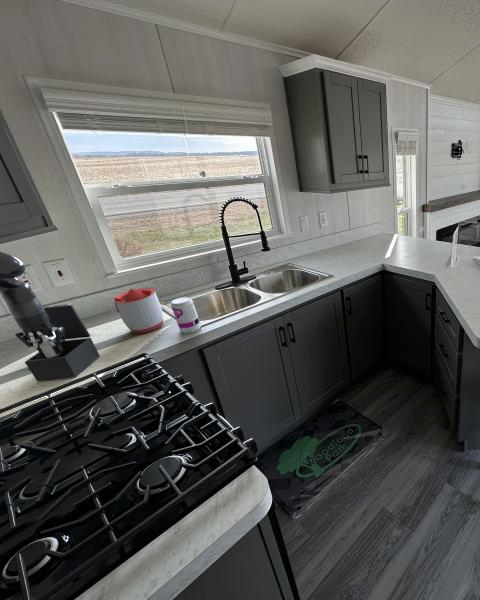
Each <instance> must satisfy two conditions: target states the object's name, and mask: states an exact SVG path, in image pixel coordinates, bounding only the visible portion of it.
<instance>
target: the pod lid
mask: <svg viewBox="0 0 480 600" xmlns="http://www.w3.org/2000/svg"><path fill="white" fill-rule="evenodd" d="M43 308H44V309H45V311H46V313H47V315H48V316H49V318H50V324H51V325H53V326H54V327H57V328H59V327H64V333H65V340H73V339H83V338H91V334H90V332H89V330H88V329H87V327H86V326H85V324H84V323H83V321H82V319H81V317H80V315H79V314H78V313H77V311H76V309H75V308H74V306H73V304H72V303H71V302H70V303H57V304H53V305H52V306H43ZM53 332H54V331H53ZM50 337H51V336H50ZM50 337H49V338H50Z"/></svg>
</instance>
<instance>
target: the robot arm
mask: <svg viewBox="0 0 480 600" xmlns="http://www.w3.org/2000/svg"><path fill="white" fill-rule="evenodd" d="M25 271H26V265H25V264H24V262H23V261H22V260H20V259H19V258H18V257H16V256H13V255H11V254H9V253H7V252H6V253H5V252H3V251H0V296H1V298H2V300H3V301H4V303H5V305H6V306H7V308H8V312H9V313H10V314H11V316H12V318H13V319H14V321H15V322H16V324H17V326H18V328H19V329H21V330H20V331H18V332H16V333H15V334H14V335H15V337H16V338H17V339H19V340H20V341H21V342H22V343H23V344H24V345H25V346H27V347H28V348H31V347H32V348H35V349H36V350H37V353H38V352H39V353H40V354H41V355H42V356H45V355H44V353H43V351H42V350H41V348H40V346H39V345H40V344H42V343H44V342H49V343H50V344H51V345H52V348H53V349H54V351H55V353H56V354H57V355H58V354H61V353H62V352H63V351H64V349H63V348H62V346H61V344H60V343H62V342H63V341H65V333H64V327H59V328H57V327H54V326H53V325H51V324H50V318H49V316H48V315H47V313H46V311H45V309H44V308H43V307H44V306H43V304H42V302H41V300H39V299H38V297H37V296H36V294H35V292H34V290H33V289H32V286H30V284H29V283H27V282H25V281H22V280H20V279H18V278H19V277H21V276H23V274H24V273H25ZM53 331H54V332H53ZM50 336H51V337H50ZM48 337H49V338H48ZM53 340H54V341H55V342H54V341H53Z"/></svg>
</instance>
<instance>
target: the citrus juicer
mask: <svg viewBox="0 0 480 600" xmlns="http://www.w3.org/2000/svg"><path fill="white" fill-rule="evenodd" d="M157 295H158V294H157V293H156V289H155V288H152V287H141V288H130V289H129V290H128V291H124V292H122V293H119V294H117V295H115V296H114V297H113V299H114V306H113V307H112V310H111V313H116V312H117V313H118V314H119V317H120V319H121V320H122V322H123V323H124V325H125V326H126V327H127V328H128V329H129V330H130V331H131V332H132V333H134V334H138V335H141V334H145V333H149V332H152V331H156V330H158V329H159V328H160V327H162V325H163V324H164V314H163V309H162V306H161V303H160V300H159V298H158V296H157Z"/></svg>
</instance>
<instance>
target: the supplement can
mask: <svg viewBox="0 0 480 600" xmlns="http://www.w3.org/2000/svg"><path fill="white" fill-rule="evenodd" d="M170 307H171V310H172V313H173V315H174V318H175V320H176V324H177V326H178V329H179V331H180V333H181V334H192V333H195V332H197V331H199V330H200V328H201V327H202V325H201V322H200V318H199V315H198V313H197V310H196V307H195V304H194V301H193V300H192V298H190V296H180V297H177V298H175V299H173V300H172V301H171V305H170ZM196 330H197V331H196ZM194 331H195V332H194ZM190 332H191V333H190Z"/></svg>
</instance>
